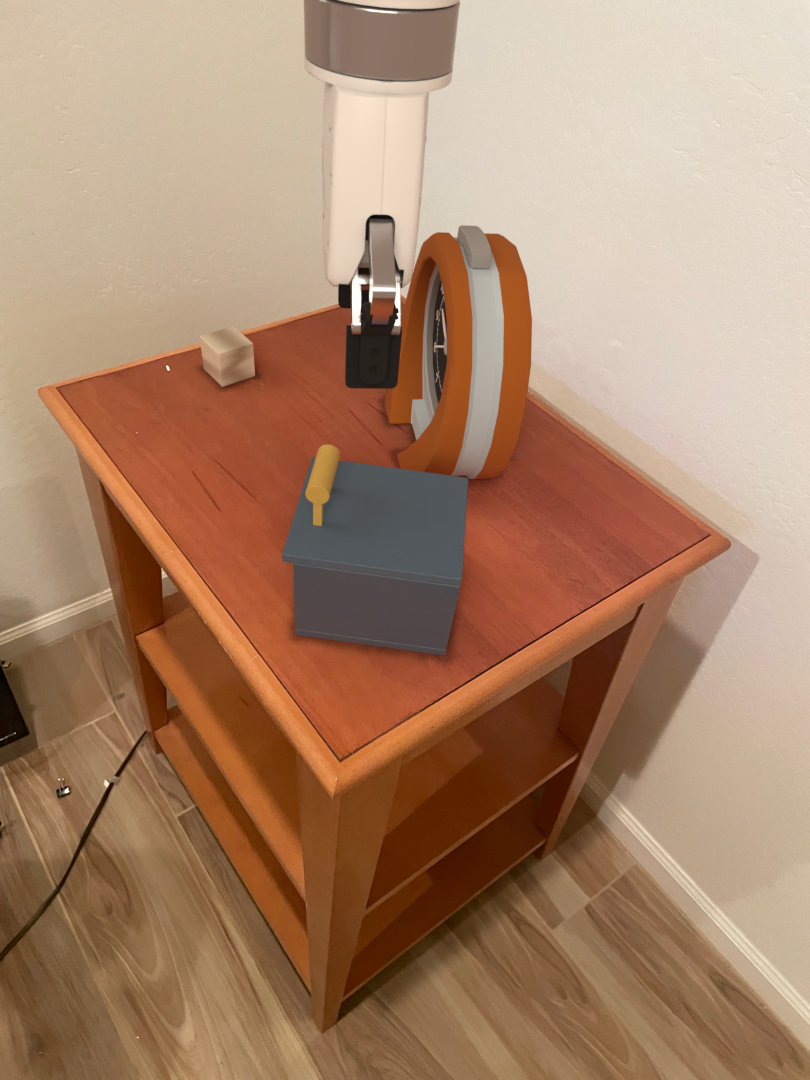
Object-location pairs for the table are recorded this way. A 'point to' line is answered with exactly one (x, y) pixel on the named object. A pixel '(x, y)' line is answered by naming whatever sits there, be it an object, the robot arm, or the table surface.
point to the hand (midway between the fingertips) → (365, 343)
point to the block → (227, 356)
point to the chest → (373, 609)
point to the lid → (379, 520)
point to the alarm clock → (463, 355)
